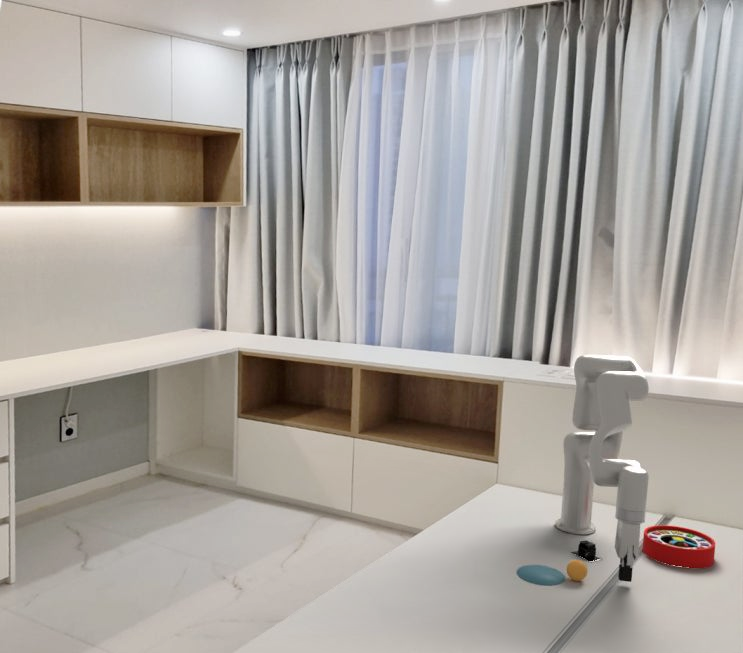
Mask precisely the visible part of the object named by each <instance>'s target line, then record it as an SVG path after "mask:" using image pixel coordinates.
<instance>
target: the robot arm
mask: <svg viewBox="0 0 743 653" xmlns="http://www.w3.org/2000/svg"><path fill="white" fill-rule="evenodd" d="M573 374H574V380H575V384H576V390H575V395H574V402H573V410H572V417H571V418H572V423H573V426H574V427H575V428H576V429H578V430H580V431H573V432H570V433H567V434H566V435H565V436H564V438H563V444H562V446H563V454H564V455H563V456H564V469H563V470H564V471H563V472H564V473H563V486H562V500H561V513H560V518H558V519H557V520H555V527H556V528H558V530H561V531H562V532H566V533H569V534H575V535H589V534H593V533H595V532H596V525H595V524H594V523H592V515H593V512H592V511H593V501H594V487H595V485H596V486H599V487H603V488H604V487H605V488H606V487H607V488H617V492H616V503H615V504H616V506H615V517H614V518H615V519H616V520H617V524H616V530H615V531H616V533H615V539H614V548H615V552H616V555H617V557H618V558H619V567H618V580H619V581H620V582H629V583H631V582H632V580H633V577H632V576H633V566H634V564H633V563H634V561H637V560H638V557H639V548H640V538H641V536H640V534H641V524H644V523H645V522H646V513H647V500H648V488H649V473H648V472H647V470H645V469H644V467H643V466H642V464H641V463H640V462H639V461H637V460H634V459H618V458H619V456H620V451H621V445H622V441H623V434H624V431H626V430H627V429H630V428H631V426H632V424H633V419H632V418H633V417H632V411H631V404H630V402H643V401H645V400H646V399H647V397H648V396H649V391H650V390H649V388H650V387H649V382H648V379H647V377H646V375H645V372H644V371H643V370H642V368H641V367H640V366H639V365H638V363H636V361H635V360H634V359H632V357H629V356H621V355H619V356H618V355H617V356H616V355H615V356H614V355H603V354H602V355H601V354H599V355H597V354H584V355H579V356H578V357H577V358H576V360H575V361H574V365H573Z"/></svg>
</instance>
